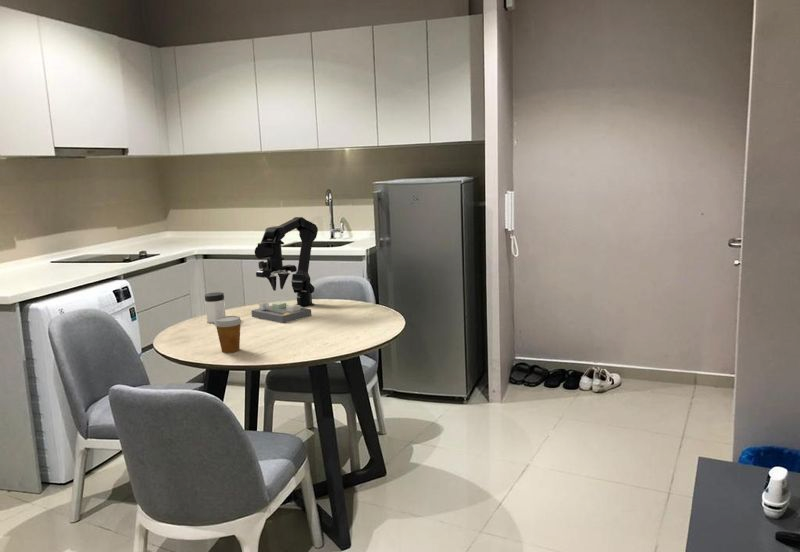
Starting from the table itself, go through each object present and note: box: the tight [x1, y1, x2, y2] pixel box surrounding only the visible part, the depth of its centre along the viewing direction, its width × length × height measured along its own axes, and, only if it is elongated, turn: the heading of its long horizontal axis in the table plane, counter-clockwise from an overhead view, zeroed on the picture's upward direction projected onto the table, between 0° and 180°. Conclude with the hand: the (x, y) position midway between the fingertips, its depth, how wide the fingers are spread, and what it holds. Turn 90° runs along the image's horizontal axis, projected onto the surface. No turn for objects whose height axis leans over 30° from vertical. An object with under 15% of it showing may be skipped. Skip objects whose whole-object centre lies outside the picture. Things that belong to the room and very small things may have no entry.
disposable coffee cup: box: [214, 315, 242, 354], centre depth 239 cm, size 10×10×12 cm
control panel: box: [251, 304, 312, 324], centre depth 291 cm, size 16×22×3 cm
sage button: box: [271, 301, 287, 309], centre depth 297 cm, size 4×4×2 cm
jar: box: [204, 291, 227, 324], centre depth 288 cm, size 9×8×12 cm
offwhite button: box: [286, 304, 302, 312], centre depth 290 cm, size 4×4×2 cm
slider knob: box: [258, 301, 270, 310], centre depth 291 cm, size 3×3×3 cm
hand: (278, 289), depth 295 cm, fingers open, 4 cm apart
